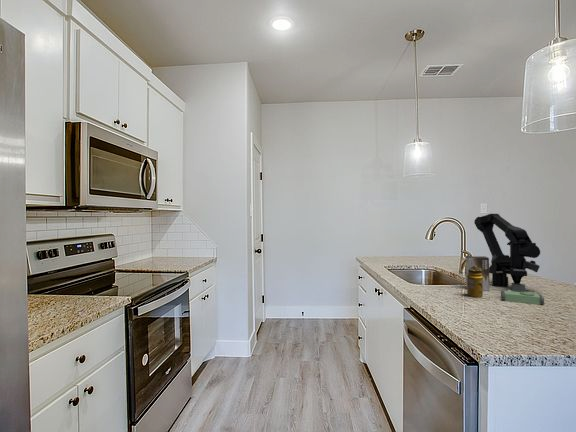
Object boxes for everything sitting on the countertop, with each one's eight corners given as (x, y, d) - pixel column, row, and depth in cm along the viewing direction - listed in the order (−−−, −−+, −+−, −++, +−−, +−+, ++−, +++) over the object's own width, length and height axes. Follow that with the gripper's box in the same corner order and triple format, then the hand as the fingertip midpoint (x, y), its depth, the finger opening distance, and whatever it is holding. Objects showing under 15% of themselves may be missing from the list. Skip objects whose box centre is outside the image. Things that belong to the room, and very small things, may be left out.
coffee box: (486, 288, 164) (485, 256, 164) (489, 291, 158) (489, 257, 158) (465, 287, 167) (465, 255, 167) (468, 290, 161) (468, 257, 161)
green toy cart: (501, 300, 140) (501, 292, 140) (500, 294, 151) (500, 286, 151) (544, 305, 133) (543, 296, 133) (539, 298, 144) (539, 290, 144)
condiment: (487, 298, 146) (487, 271, 146) (469, 298, 144) (469, 271, 144) (475, 294, 153) (475, 268, 153) (459, 294, 152) (458, 268, 152)
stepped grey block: (512, 294, 153) (512, 284, 153) (511, 291, 158) (511, 282, 158) (525, 295, 150) (525, 285, 150) (524, 292, 155) (524, 283, 155)
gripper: (540, 258, 146) (541, 293, 146) (535, 254, 162) (535, 285, 162) (510, 257, 152) (510, 290, 152) (508, 253, 168) (508, 283, 168)
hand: (517, 287), depth 158 cm, fingers closed
